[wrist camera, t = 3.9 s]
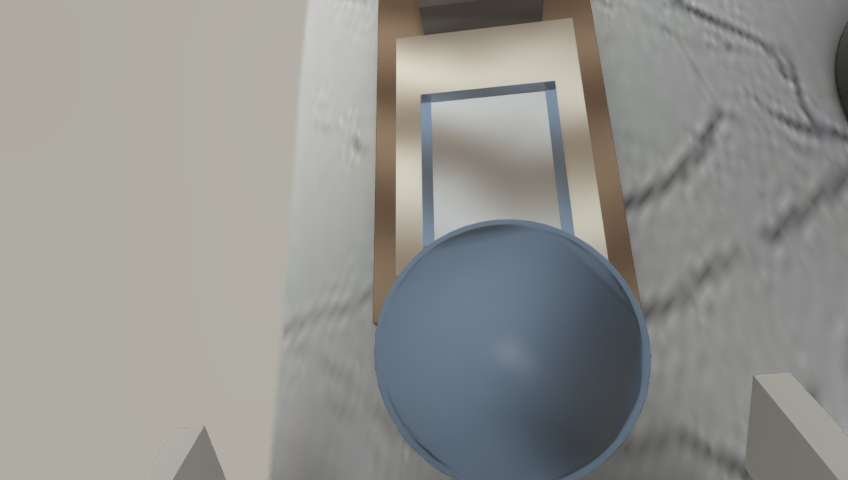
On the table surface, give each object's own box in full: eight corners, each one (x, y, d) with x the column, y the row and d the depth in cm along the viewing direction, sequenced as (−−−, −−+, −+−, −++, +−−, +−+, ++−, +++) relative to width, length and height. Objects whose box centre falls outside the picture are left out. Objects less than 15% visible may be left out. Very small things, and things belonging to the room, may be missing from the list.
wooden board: (383, -41, 32) (371, -87, 29) (573, -67, 31) (580, -119, 28) (378, 327, 24) (361, 311, 21) (635, 315, 23) (653, 296, 20)
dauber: (492, 328, 23) (471, 176, 10) (588, 392, 22) (702, 308, 9) (430, 420, 22) (322, 378, 9) (526, 493, 21) (554, 562, 8)
